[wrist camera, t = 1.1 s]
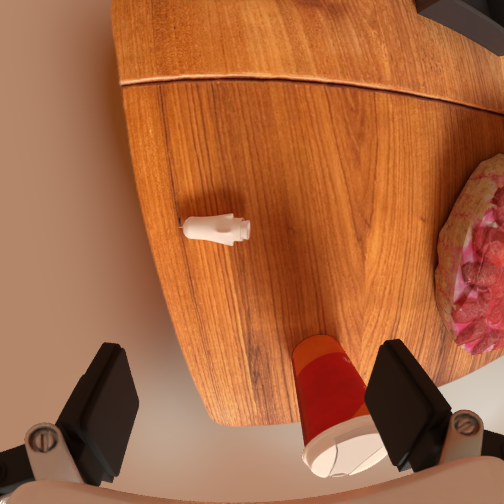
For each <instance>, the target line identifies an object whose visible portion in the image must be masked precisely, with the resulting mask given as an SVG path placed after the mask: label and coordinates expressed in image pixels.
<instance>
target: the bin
mask: <svg viewBox="0 0 504 504" xmlns="http://www.w3.org/2000/svg"><path fill="white" fill-rule="evenodd" d="M416 6H417V12H418V14H420V15H422V16H425V17H427V18H429V19H432V20H434V21H436V22H438V23H440V24H442V25H444V26H446V27H449V28H451V29H452V30H454V31H456V32H458V33H460V34H462V35H464V36H466V37H468V38H469V39H471V40H473V41H475V42H476V43H478V44H480V45H481V46H483V47H485V48H486V49H488V50H490V51H491V52H493V53H494V54H496V55H497V56H503V55H504V0H416Z"/></svg>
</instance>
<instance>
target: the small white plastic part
mask: <svg viewBox="0 0 504 504" xmlns="http://www.w3.org/2000/svg"><path fill="white" fill-rule="evenodd" d="M180 228H183V232H184V234H185V236H186V237H188V238H190V239H203V240H209V241H214V242H218V243H222V244H226V245H230V246H233V244H234V241H243V239H247V240H248V239H249V237H250V221H249V220H246V221H244V218H235V217H234V214H233V213H231V214H224V215H218V216H209V217H194V216H191V217H189V218H187V219H186V220H185V222H184V224H183V227H180Z"/></svg>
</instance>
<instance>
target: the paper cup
mask: <svg viewBox="0 0 504 504" xmlns="http://www.w3.org/2000/svg"><path fill="white" fill-rule="evenodd" d="M292 366H293V373H294V380H295V387H296V393H297V400H298V406H299V413H300V419H301V426H302V432H303V439H304V446H305V448H304V450H303V453H302V459H303V461H304V463H305V464H306V465H307V466H309V467H310V469H311V471H312V472H313V473H314V474H315V475H317V476H320V477H325V478H326V477H327V476H330V475H331V477H337V476H344V475H345V474H348V475H352V474H355V473H358V472H361V471H363V470H365V469H367V468H369V467H371V466H373V465H374V464H376V463H377V462H379V461H380V460H382V458H384V457H385V456H386V455H387V454H388V453H387V451H386V449H385V446H384V444H383V442H382V440H381V437H380V435H379V433H378V431H377V428H376V426H375V424H374V422H373V420H372V417H371V415H370V413H369V411H368V409H367V407H366V404H365V402H364V394H365V391H366V388H367V387H366V385H365V383H364V382H363V380H362V378H361V377H360V375H359V373H358V372H357V370H356V369H355V367H354V365H353V364H352V362H351V361H350V359H349V357H348V356H347V354H346V353H345V351H344V350H343V348H342V347H341V345H340V344H339V342H338V341H337V340H336V339H335V338H333V337H331V336H328V335H315V336H311V337H309V338H307V339H305V340H303V341H302V342H301V343H299V344H298V345H297V347H296V348H295V350H294V352H293V355H292Z"/></svg>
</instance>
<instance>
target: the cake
mask: <svg viewBox="0 0 504 504" xmlns="http://www.w3.org/2000/svg"><path fill="white" fill-rule="evenodd" d="M437 251H438V257H439V264H438V266H437V268H436V270H435V284H436V294H435V297H436V302H437V308H438V311H439V314H440V316H441V319H442V321H443V323H444V325H445V327H446V328H447V330H448V332H449V334H450V335H451V337H452V338H453V340H454V341H455V343H456V344H457V345H458V346H459V347H461V348H463V349H464V350H466V351H467V352H468V353H470V354H471V355H477V354H481V353H483V352H488V351H492V350H496V349H499V348H501V347H503V346H504V154H497V155H495V156H494V157H492V158H490V159H488V160H485V161H482V162H481V163H480V164H479V165H478V166H477V168H476V169H475V170H474V171H473V173H472V175H471V176H470V178H469V179H468V181H467V183H466V185H465V186H464V188H463V190H462V192H461V193H460V195H459V197H458V199H457V201H456V203H455V204H454V206H453V209H452V211H451V213H450V215H449V218H448V220H447V221H446V223H445V225H444V226H443V228H442V229H441V231H440V233H439V239H438V245H437Z"/></svg>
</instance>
